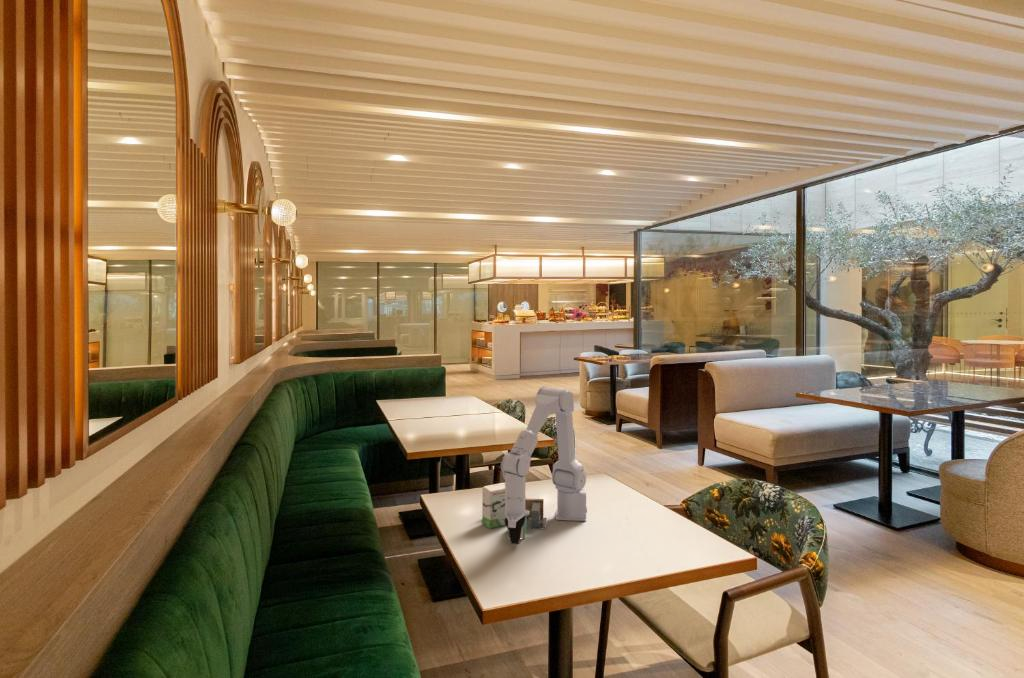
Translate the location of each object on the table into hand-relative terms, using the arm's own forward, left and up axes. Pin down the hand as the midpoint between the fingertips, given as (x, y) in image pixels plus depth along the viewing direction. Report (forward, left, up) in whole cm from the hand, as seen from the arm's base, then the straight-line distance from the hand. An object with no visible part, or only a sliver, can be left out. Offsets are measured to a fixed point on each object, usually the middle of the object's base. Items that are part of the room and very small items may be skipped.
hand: (515, 542), depth 165 cm
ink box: (+7, -16, -1) cm, 17 cm away
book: (0, -9, -1) cm, 9 cm away
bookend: (-5, -17, -1) cm, 18 cm away
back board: (+2, -22, -1) cm, 22 cm away
